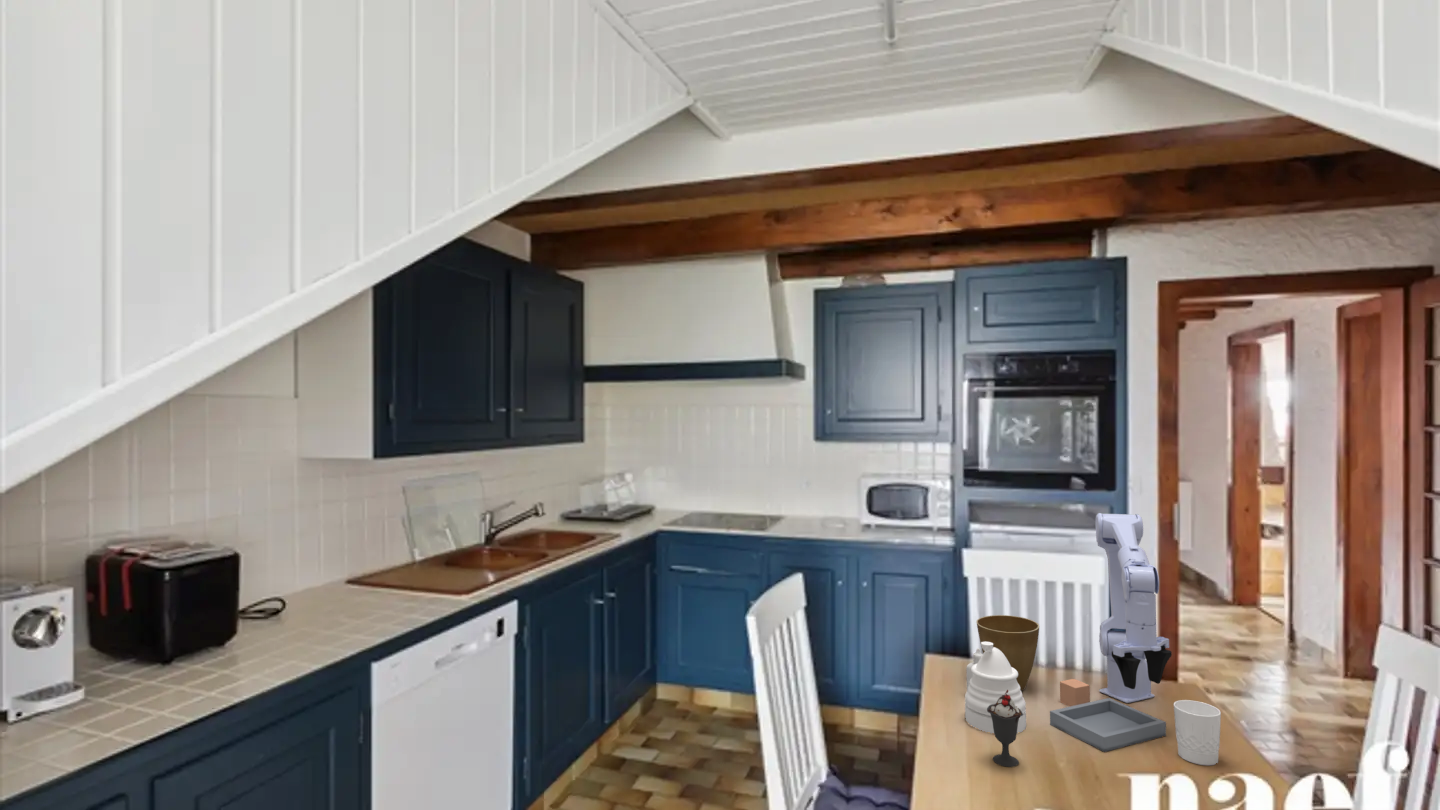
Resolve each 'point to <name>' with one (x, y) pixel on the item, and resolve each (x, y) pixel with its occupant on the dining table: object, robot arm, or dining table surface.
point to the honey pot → (992, 689)
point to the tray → (1107, 724)
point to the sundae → (1005, 727)
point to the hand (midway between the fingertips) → (1142, 684)
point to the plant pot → (1012, 641)
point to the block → (1074, 692)
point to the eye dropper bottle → (975, 660)
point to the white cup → (1197, 731)
